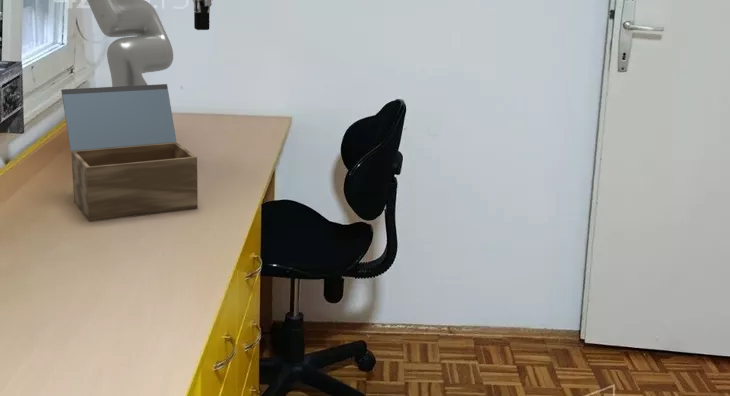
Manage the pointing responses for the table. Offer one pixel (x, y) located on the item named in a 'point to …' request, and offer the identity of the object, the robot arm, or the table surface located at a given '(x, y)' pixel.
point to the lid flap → (118, 116)
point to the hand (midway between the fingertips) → (201, 29)
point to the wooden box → (134, 180)
